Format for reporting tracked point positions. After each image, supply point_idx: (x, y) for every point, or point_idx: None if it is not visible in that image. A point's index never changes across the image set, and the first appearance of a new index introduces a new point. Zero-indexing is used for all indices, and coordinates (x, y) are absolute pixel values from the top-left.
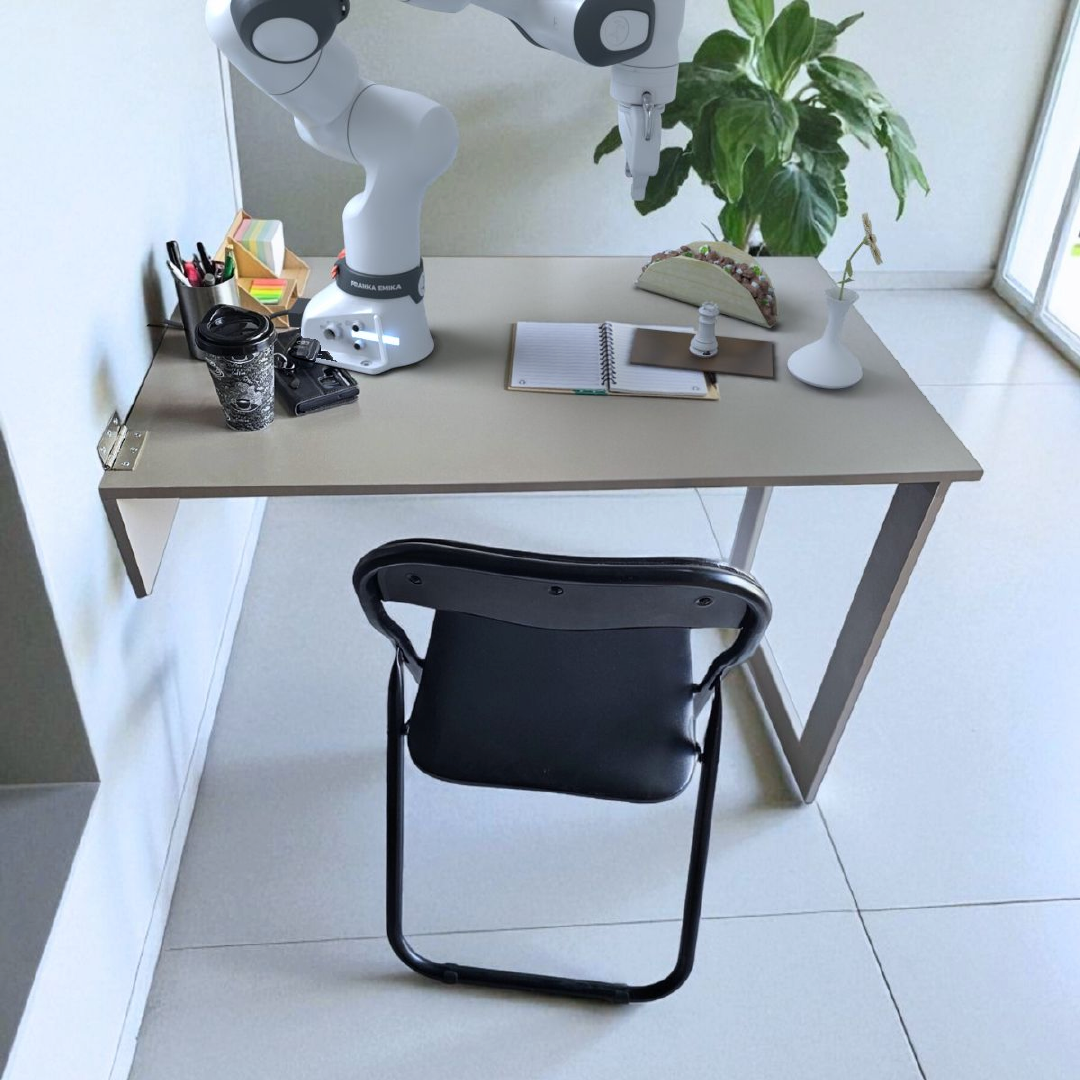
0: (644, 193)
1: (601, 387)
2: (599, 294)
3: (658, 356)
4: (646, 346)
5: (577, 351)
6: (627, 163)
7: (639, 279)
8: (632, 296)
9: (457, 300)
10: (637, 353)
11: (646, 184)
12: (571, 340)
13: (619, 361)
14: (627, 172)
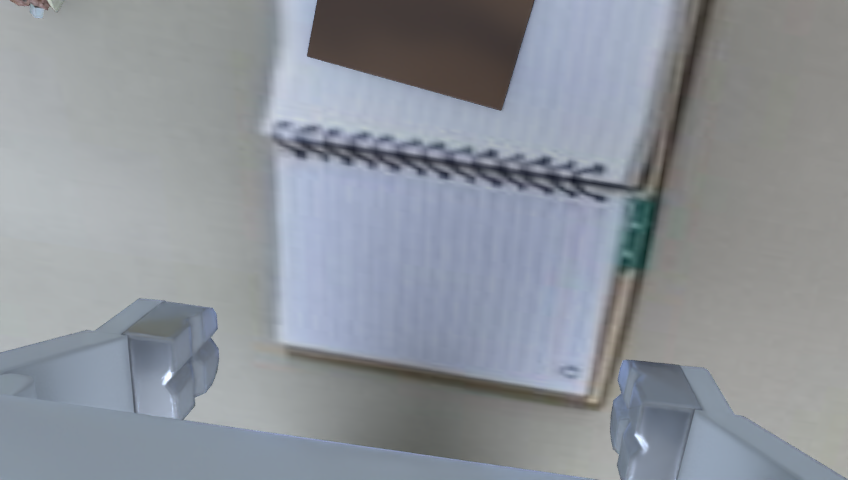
0: (718, 391)
1: (616, 204)
2: (104, 123)
3: (476, 26)
4: (417, 50)
5: (427, 231)
6: (146, 413)
7: (55, 9)
8: (103, 30)
9: None
10: (457, 83)
11: (780, 440)
12: (369, 236)
13: (485, 136)
14: (203, 383)
